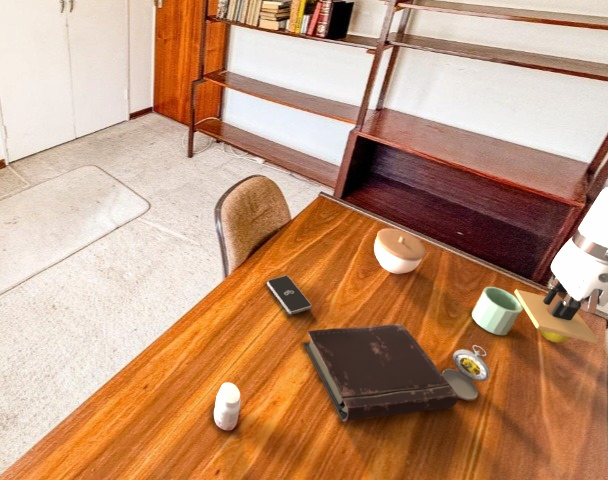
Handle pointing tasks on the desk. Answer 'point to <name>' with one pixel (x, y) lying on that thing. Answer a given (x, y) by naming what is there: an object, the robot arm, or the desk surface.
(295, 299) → the external hard drive
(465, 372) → the pocket watch
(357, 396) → the diary
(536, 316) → the square peg board
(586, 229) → the robot arm
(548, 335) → the lemon
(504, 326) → the cup
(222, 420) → the pill bottle
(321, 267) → the desk surface
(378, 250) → the lidded bowl
